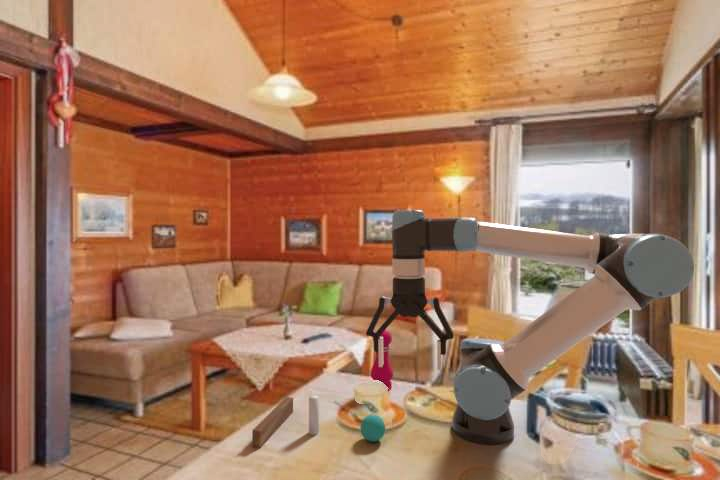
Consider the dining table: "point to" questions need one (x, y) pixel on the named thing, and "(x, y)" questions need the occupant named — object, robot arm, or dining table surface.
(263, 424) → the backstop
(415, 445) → the dining table surface
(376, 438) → the ball
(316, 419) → the pin
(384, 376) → the pepper mill
